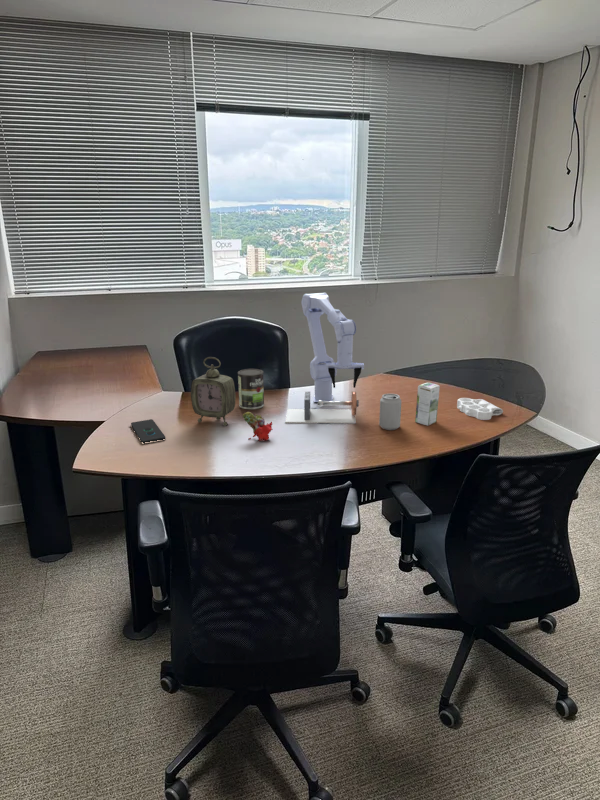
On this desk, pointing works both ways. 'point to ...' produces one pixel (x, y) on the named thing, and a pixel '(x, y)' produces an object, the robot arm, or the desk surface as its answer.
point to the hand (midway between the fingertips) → (344, 387)
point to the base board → (321, 416)
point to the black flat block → (147, 431)
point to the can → (390, 411)
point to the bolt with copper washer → (343, 403)
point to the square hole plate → (307, 406)
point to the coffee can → (251, 388)
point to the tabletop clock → (213, 394)
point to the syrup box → (427, 403)
